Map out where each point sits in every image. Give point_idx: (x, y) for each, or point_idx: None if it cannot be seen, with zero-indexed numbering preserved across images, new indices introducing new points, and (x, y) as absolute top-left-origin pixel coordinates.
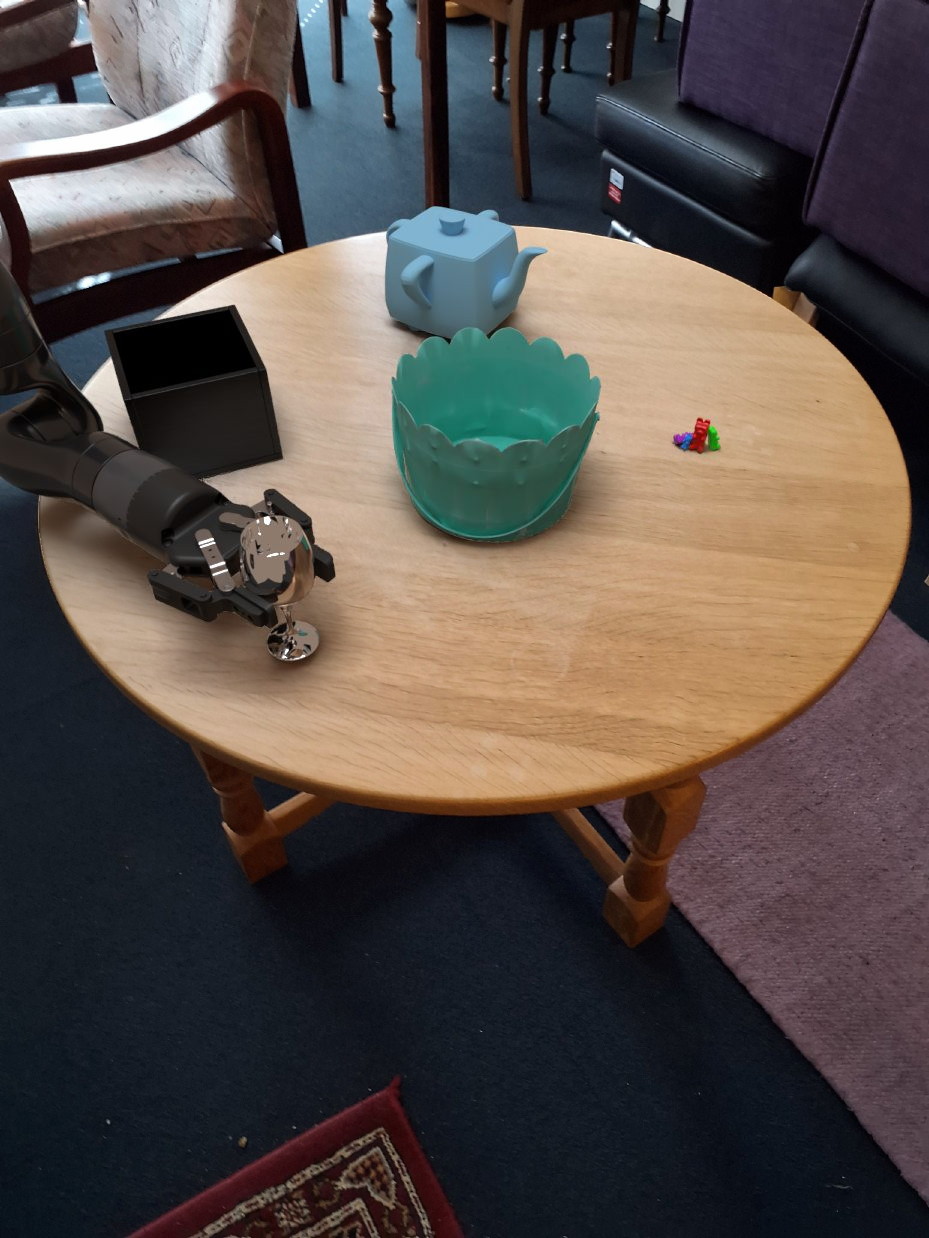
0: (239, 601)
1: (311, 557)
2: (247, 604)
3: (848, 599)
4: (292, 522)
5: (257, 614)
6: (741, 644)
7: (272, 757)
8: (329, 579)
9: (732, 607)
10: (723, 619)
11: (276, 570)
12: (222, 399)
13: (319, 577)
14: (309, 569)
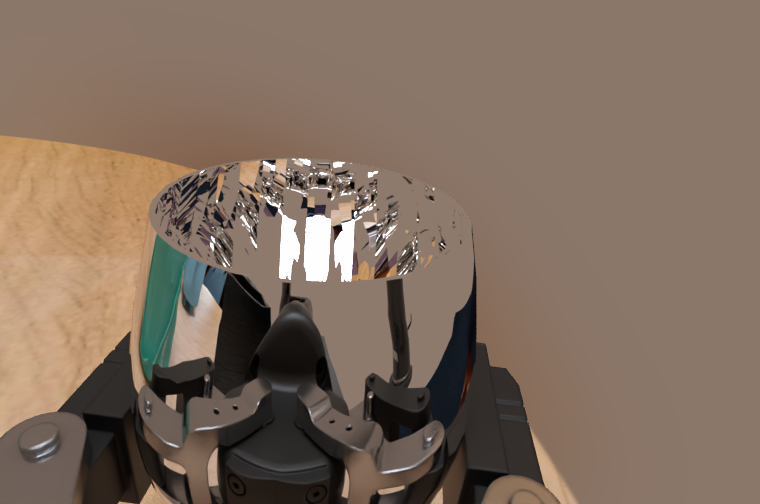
0: (519, 448)
1: (263, 245)
2: (502, 422)
3: (24, 146)
4: (162, 213)
5: (507, 371)
6: (102, 179)
7: (559, 493)
8: None
9: (39, 184)
10: (61, 187)
11: (420, 232)
12: None
13: None
14: (300, 261)
